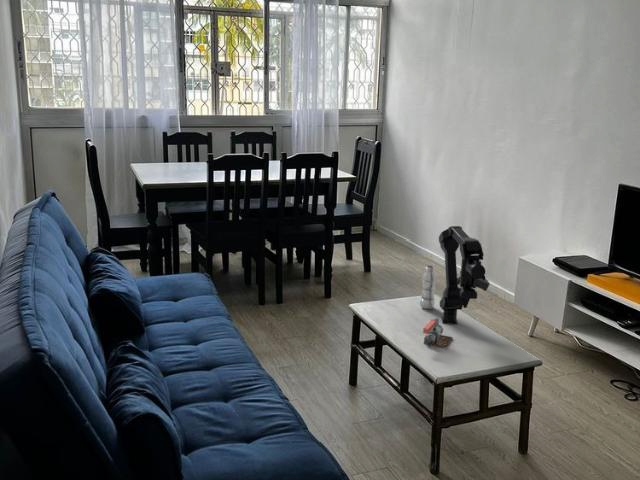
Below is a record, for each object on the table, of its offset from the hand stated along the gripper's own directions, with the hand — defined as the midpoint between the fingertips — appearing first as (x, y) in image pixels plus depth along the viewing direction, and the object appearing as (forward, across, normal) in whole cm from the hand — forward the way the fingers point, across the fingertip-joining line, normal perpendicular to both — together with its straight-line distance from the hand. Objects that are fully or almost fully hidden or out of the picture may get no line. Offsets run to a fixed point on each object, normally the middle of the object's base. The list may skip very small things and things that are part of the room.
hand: (465, 307), depth 252 cm
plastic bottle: (+13, +30, +13) cm, 35 cm away
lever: (+6, -9, +14) cm, 18 cm away
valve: (+13, -6, +10) cm, 17 cm away
